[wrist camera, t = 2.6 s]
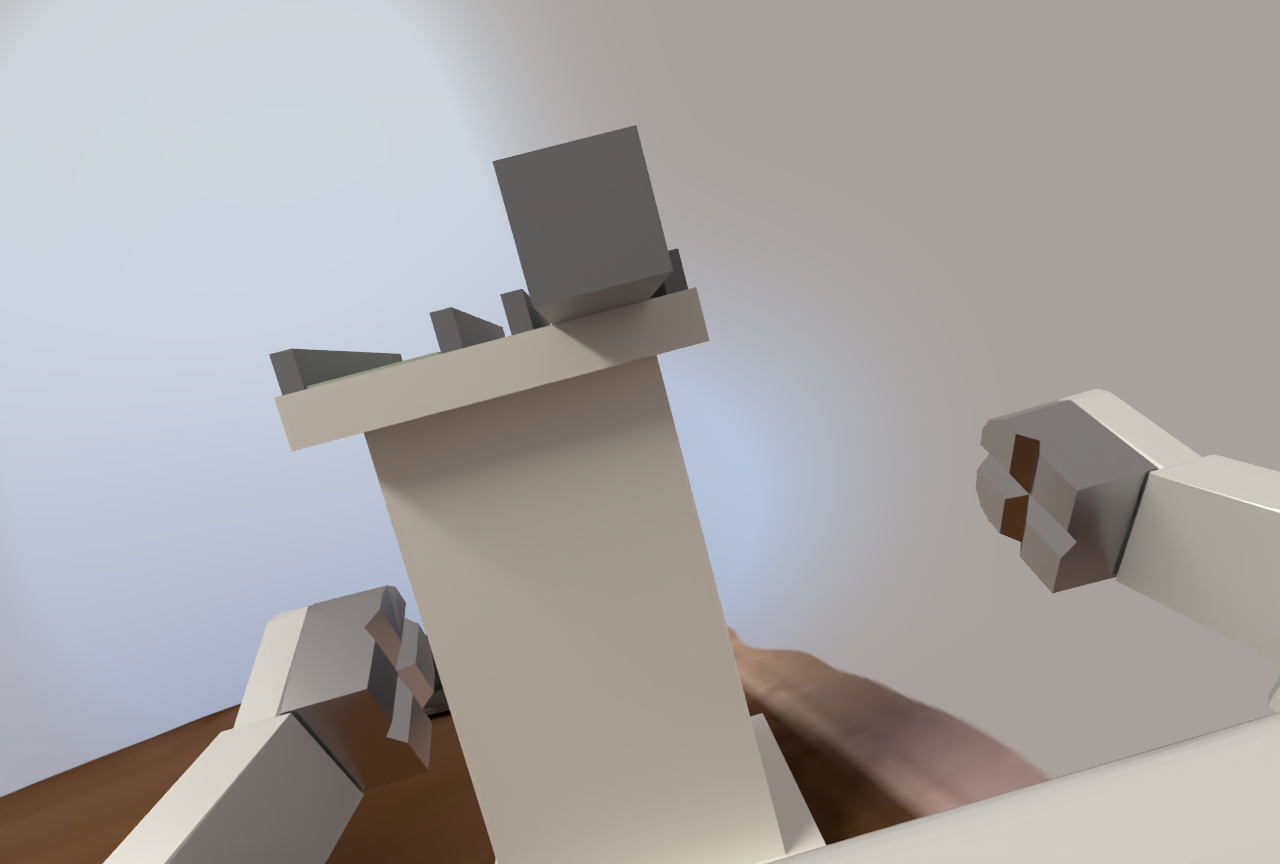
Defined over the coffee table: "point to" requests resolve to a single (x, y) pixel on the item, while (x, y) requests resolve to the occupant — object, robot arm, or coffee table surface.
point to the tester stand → (565, 581)
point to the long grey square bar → (585, 224)
